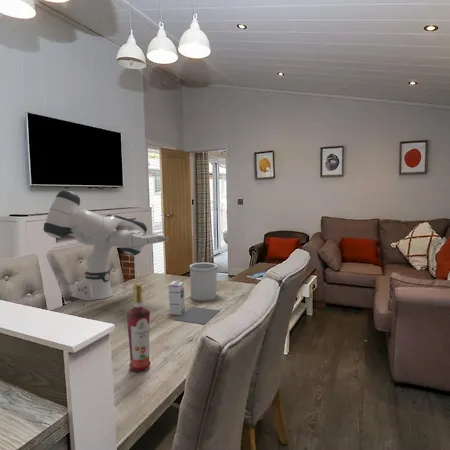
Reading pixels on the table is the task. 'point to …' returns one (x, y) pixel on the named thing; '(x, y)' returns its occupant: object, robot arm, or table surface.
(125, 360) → the table surface
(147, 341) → the liquor
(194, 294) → the utensil holder
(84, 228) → the robot arm
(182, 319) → the mat
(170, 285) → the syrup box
